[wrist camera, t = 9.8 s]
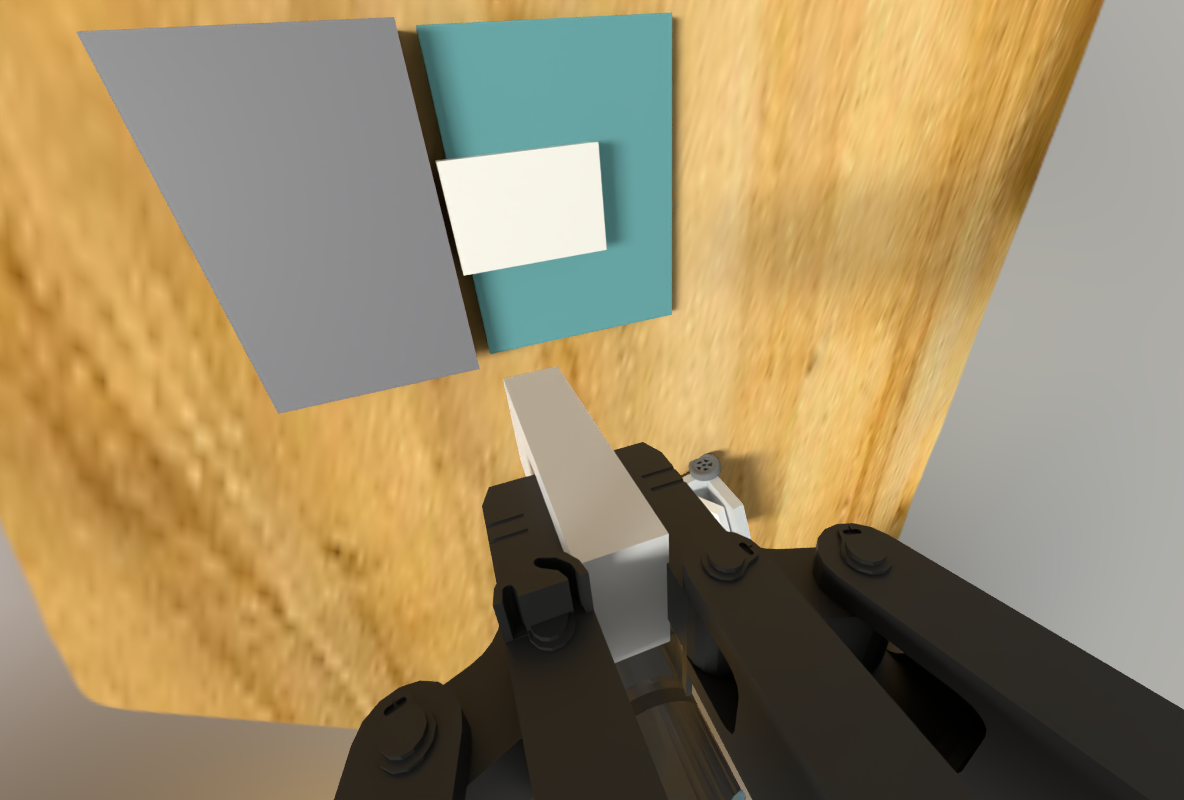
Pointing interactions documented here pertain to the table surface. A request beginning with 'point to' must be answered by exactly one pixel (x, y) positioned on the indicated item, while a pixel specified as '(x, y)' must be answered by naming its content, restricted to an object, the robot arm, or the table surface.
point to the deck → (299, 196)
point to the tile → (524, 205)
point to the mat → (556, 117)
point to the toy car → (717, 494)
